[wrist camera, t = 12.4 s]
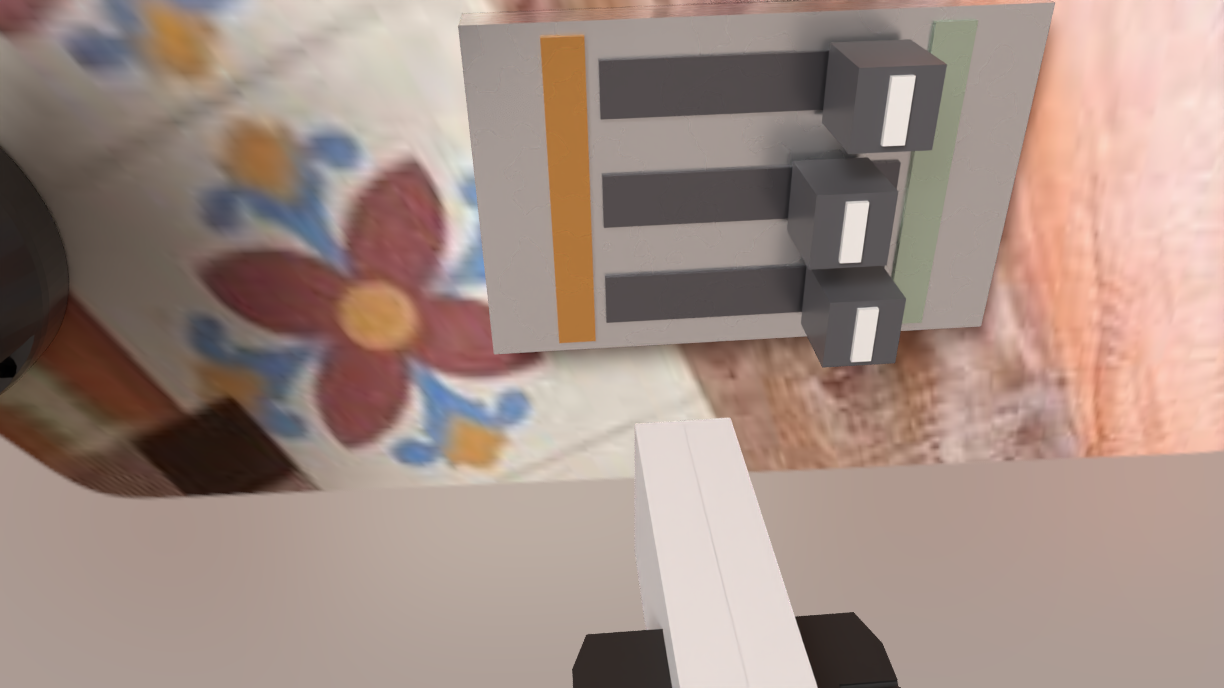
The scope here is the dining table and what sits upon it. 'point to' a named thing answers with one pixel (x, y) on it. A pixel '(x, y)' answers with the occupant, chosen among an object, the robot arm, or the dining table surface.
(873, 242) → the breaker
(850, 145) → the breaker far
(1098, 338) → the dining table surface
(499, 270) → the panel
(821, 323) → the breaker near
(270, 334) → the dining table surface
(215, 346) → the dining table surface
